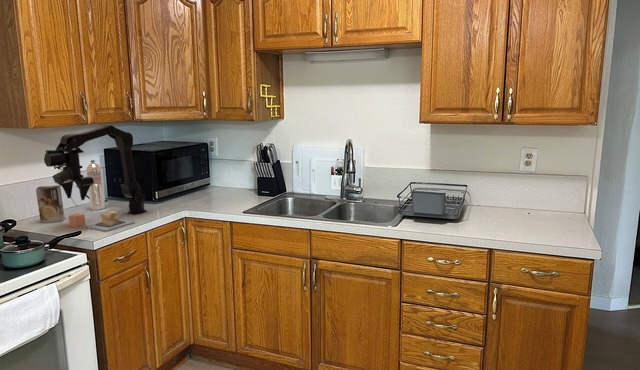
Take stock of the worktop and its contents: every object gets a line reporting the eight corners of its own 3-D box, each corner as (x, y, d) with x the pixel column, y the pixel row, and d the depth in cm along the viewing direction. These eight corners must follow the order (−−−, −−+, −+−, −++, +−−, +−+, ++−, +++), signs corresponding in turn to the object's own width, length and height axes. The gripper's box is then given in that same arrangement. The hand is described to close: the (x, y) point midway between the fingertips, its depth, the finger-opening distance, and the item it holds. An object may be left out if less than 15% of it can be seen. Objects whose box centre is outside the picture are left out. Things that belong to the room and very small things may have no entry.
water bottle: (90, 210, 239) (84, 161, 234) (90, 207, 245) (85, 159, 240) (105, 209, 242) (100, 160, 237) (105, 206, 248) (100, 158, 243)
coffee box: (65, 218, 225) (61, 185, 222) (62, 221, 219) (57, 187, 216) (43, 219, 223) (39, 186, 220) (39, 223, 217) (35, 188, 214)
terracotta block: (79, 224, 215) (77, 213, 214) (85, 225, 212) (84, 214, 212) (69, 226, 211) (68, 215, 210) (76, 228, 209) (75, 217, 208)
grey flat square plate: (114, 220, 221) (114, 217, 220) (134, 223, 215) (134, 220, 214) (86, 228, 207) (85, 225, 207) (106, 231, 202) (106, 228, 201)
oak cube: (111, 221, 214) (110, 211, 213) (119, 223, 212) (118, 212, 211) (102, 224, 210) (100, 213, 209) (109, 225, 208) (108, 214, 207)
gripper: (41, 165, 203) (45, 200, 206) (69, 167, 195) (72, 204, 198) (65, 161, 213) (68, 196, 216) (93, 164, 204) (96, 199, 207)
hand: (76, 199), depth 209 cm, fingers open, 9 cm apart
